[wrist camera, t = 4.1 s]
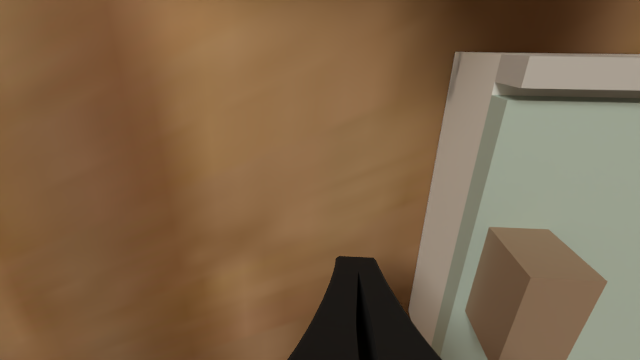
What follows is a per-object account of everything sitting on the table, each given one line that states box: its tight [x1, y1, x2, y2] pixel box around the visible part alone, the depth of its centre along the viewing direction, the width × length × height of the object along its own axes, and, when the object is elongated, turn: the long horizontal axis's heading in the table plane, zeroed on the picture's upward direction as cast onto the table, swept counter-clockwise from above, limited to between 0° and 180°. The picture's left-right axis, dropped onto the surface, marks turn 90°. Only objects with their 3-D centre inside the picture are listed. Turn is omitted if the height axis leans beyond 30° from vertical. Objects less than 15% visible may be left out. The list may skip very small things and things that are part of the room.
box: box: [408, 52, 640, 346], centre depth 13 cm, size 15×14×6 cm
